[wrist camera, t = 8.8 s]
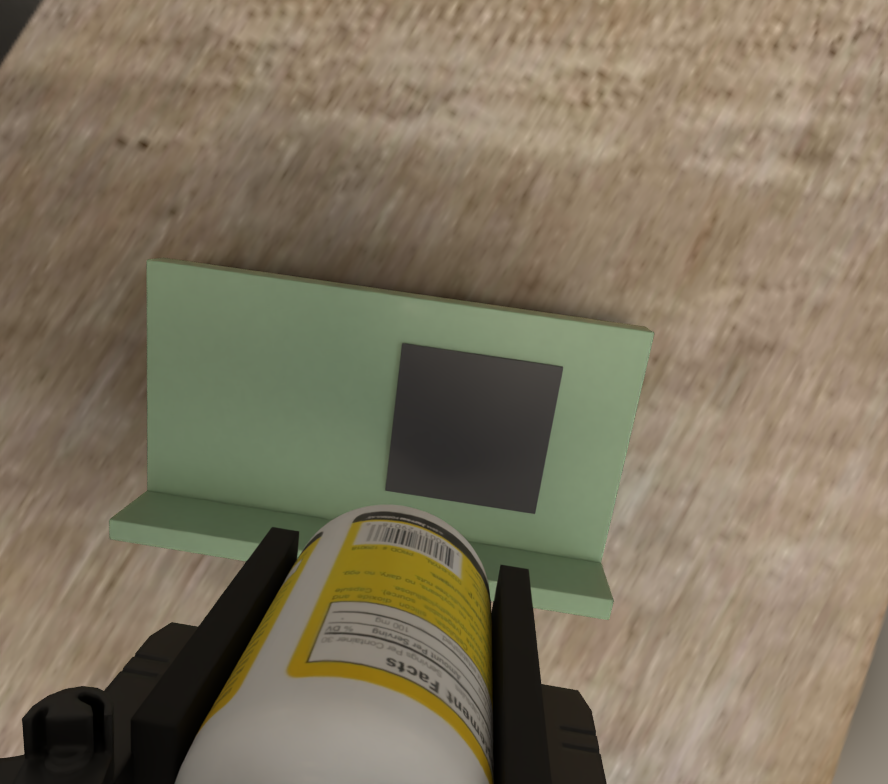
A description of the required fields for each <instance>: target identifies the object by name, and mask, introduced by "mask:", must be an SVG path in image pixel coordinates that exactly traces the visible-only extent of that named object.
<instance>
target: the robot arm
mask: <svg viewBox="0 0 888 784" xmlns="http://www.w3.org/2000/svg"><path fill="white" fill-rule="evenodd" d="M298 544H299V531H294V530H288V529H282V528H276V527H271V529H270V530H269V532H268V533H267V534H266V536H265V537H264V538H263V540H262V541H261V542H260V544H259V545H258V547H257V548H256V549H255V551H254V552H253V553H252V555H251V556H250V557H249V559H248V560H247V561H246V563H245V564H244V566H243V567H242V568H241V570H240V571H239V572H238V574H237V575H236V576H235V578H234V579H233V581H232V582H231V583H230V585H229V586H228V587H227V589H226V590H225V591H224V593H223V594H222V595H221V597H220V598H219V600H218V601H217V602H216V604H215V605H214V606H213V608H212V609H211V610H210V612H209V613H208V615H207V616H206V617H205V619H204V620H203V621H202V623H201V624H200V625H199V627H196V626H190V625H185V624H179V623H173V622H172V623H170V624H168V625H167V626H165V627H164V628H162V629H160V630H159V631H157V632H156V633H154V634H152V635H151V636H150V637H149V638H148V639H147V640H146V641H145V643H144V644H143V645H142V646H141V647H140V649H139V650H138V651H137V652H136V653H135V657H132V658H131V659H130V661H129V662H128V663H127V664H126V665H125V667H124V668H123V671H122V672H120V673H119V674H118V675H117V676H116V677H115V679H114V680H113V681H112V682H111V683H110V685H109V686H108V687H107V688H106V689H105V690H104V691H103V690H101V689H99V688H94V687H85V686H81V687H75V688H68V689H64V690H61V691H59V692H56V693H54V694H51V695H49V696H47V697H45V698H44V699H43V700H41V701H40V702H38V703H37V704H35V705H34V706H32V708H31V709H30V710H29V711H28V712H27V714H26V715H25V716H24V717H23V718H22V723H23V738H24V752H25V755H20V756H15V757H8V758H0V784H175V781H176V778H177V775H178V773H179V770H180V767H181V765H182V763H183V761H184V759H185V757H186V755H187V753H188V751H189V749H190V747H191V745H192V743H193V741H194V739H195V737H196V735H197V733H198V731H199V729H200V727H201V726H202V724H203V722H204V720H205V719H206V717H207V715H208V713H209V712H210V710H211V708H212V707H213V705H214V703H215V701H216V700H217V698H218V696H219V695H220V693H221V691H222V690H223V688H224V686H225V684H226V682H227V681H228V679H229V677H230V676H231V674H232V672H233V670H234V668H235V667H236V665H237V663H238V661H239V660H240V658H241V656H242V655H243V653H244V651H245V649H246V648H247V646H248V644H249V642H250V640H251V638H252V637H253V635H254V633H255V632H256V630H257V628H258V626H259V625H260V623H261V621H262V619H263V618H264V616H265V614H266V612H267V610H268V609H269V607H270V605H271V603H272V602H273V600H274V598H275V596H276V595H277V593H278V591H279V590H280V588H281V586H282V584H283V583H284V581H285V579H286V577H287V575H288V574H289V572H290V570H291V568H292V567H293V565H294V563H295V561H296V560H297V556H298ZM491 616H492V669H493V674H492V676H493V732H494V735H493V739H494V742H493V758H494V784H606V779H605V774H604V769H603V764H602V759H601V754H599V745H598V740H597V736H596V730H595V725H594V721H593V716H592V711H591V709H590V708H589V706H588V705H587V703H586V702H585V700H584V699H583V697H582V696H581V694H580V692H579V691H578V690H573V689H567V688H561V687H555V686H549V685H543V684H541V677H540V668H539V659H538V650H537V640H536V631H535V622H534V613H533V603H532V594H531V585H530V576H529V569H525V568H519V567H513V566H507V565H501V564H500V570H499V575H498V580H497V586H496V591H495V597H494V602H493V607H492V613H491Z"/></svg>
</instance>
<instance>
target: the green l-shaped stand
mask: <svg viewBox="0 0 888 784" xmlns="http://www.w3.org/2000/svg"><path fill="white" fill-rule="evenodd" d="M653 337H654V332H652V331H651V330H649V329H648V328H646V327H644V326H637V325H630V324H623V323H616V322H609V321H602V320H595V319H588V318H581V317H574V316H567V315H560V314H553V313H546V312H539V311H532V310H525V309H518V308H511V307H504V306H497V305H490V304H483V303H476V302H469V301H462V300H456V299H449V298H442V297H435V296H428V295H421V294H414V293H407V292H400V291H393V290H386V289H379V288H372V287H365V286H358V285H351V284H344V283H337V282H330V281H323V280H316V279H309V278H302V277H295V276H288V275H281V274H274V273H267V272H260V271H253V270H246V269H239V268H232V267H225V266H218V265H211V264H204V263H197V262H190V261H183V260H176V259H169V258H158V259H148V260H147V491H146V492H145V493H143V494H142V495H141V496H139V497H138V498H137V499H136V500H134V501H133V502H132V503H130V504H129V505H128V506H126V507H125V508H124V509H122V510H121V511H120V512H118V513H117V514H116V515H115V516H113V517H112V518H111V519H110V520H109V537H110V539H112V540H118V541H124V542H130V543H136V544H142V545H149V546H155V547H161V548H167V549H173V550H179V551H186V552H192V553H198V554H204V555H210V556H217V557H223V558H229V559H235V560H241V561H247V560H248V559H249V557H250V556H251V555H252V553H253V552H254V551H255V549H256V548H257V547H258V545H259V544H260V542H261V541H262V540H263V538H264V537H265V536H266V534H267V533H268V532H269V530H270V529H271V527H276V528H282V529H288V530H294V531H299V544H298V556H297V558H298V557H299V555H300V554H301V552H302V551H303V549H304V548H305V546H306V544H307V543H308V542H309V541H310V539H311V538H312V537H313V536H314V535H315V534H316V533H317V532H318V531H319V530H320V529H321V528H322V527H323V526H325V525H326V524H327V523H328V522H330V521H331V520H333V519H335V518H337V517H338V516H340V515H342V514H344V513H347V512H349V511H352V510H355V509H358V508H362V507H367V506H374V505H400V506H406V507H411V508H414V509H418V510H421V511H424V512H427V513H429V514H431V515H434V516H436V517H438V518H440V519H441V520H443V521H444V522H446V523H447V524H449V525H450V526H452V527H453V528H454V529H456V530H457V531H458V532H459V533H460V534H461V535H462V536H463V537H464V538H465V539H466V540H467V541H468V542H469V544H470V545H471V546H472V548H473V549H474V551H475V552H476V554H477V555H478V557H479V559H480V561H481V563H482V565H483V567H484V570H485V573H486V576H487V579H488V583H489V590H490V598H491V601H494V597H495V591H496V586H497V580H498V575H499V570H500V564H501V565H507V566H513V567H519V568H525V569H529V576H530V585H531V594H532V603H533V608H537V609H544V610H550V611H556V612H562V613H568V614H574V615H581V616H587V617H593V618H599V619H605V620H609V618H610V614H611V610H612V606H613V602H614V600H613V597H612V594H611V591H610V588H609V585H608V582H607V579H606V576H605V573H604V570H603V567H602V564H601V561H602V556H603V552H604V548H605V544H606V539H607V535H608V531H609V526H610V522H611V518H612V513H613V509H614V505H615V501H616V496H617V492H618V488H619V483H620V479H621V475H622V470H623V466H624V462H625V458H626V453H627V449H628V445H629V440H630V436H631V432H632V428H633V423H634V419H635V415H636V410H637V406H638V402H639V397H640V393H641V389H642V385H643V380H644V376H645V372H646V367H647V363H648V359H649V354H650V350H651V346H652V342H653Z"/></svg>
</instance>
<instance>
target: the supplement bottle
mask: <svg viewBox="0 0 888 784" xmlns="http://www.w3.org/2000/svg"><path fill="white" fill-rule="evenodd" d="M492 674H493V669H492V616H491V598H490V590H489V583H488V579H487V576H486V573H485V570H484V567H483V565H482V563H481V561H480V559H479V557H478V555H477V554H476V552H475V551H474V549H473V548H472V546H471V545H470V544H469V542H468V541H467V540H466V539H465V538H464V537H463V536H462V535H461V534H460V533H459V532H458V531H457V530H456V529H454V528H453V527H452V526H450V525H449V524H447V523H446V522H444V521H443V520H441V519H440V518H438V517H436V516H434V515H431V514H429V513H427V512H424V511H421V510H418V509H414V508H411V507H406V506H400V505H374V506H367V507H362V508H358V509H355V510H352V511H349V512H347V513H344V514H342V515H340V516H338V517H337V518H335V519H333V520H331V521H330V522H328V523H327V524H326V525H325V526H323V527H322V528H321V529H320V530H319V531H318V532H317V533H316V534H315V535H314V536H313V537H312V538H311V539H310V541H309V542H308V543H307V544H306V546H305V548H304V549H303V551H302V552H301V554H300V555H299V557H298V558H297V560H296V561H295V563H294V565H293V567H292V568H291V570H290V572H289V574H288V575H287V577H286V579H285V581H284V583H283V584H282V586H281V588H280V590H279V591H278V593H277V595H276V596H275V598H274V600H273V602H272V603H271V605H270V607H269V609H268V610H267V612H266V614H265V616H264V618H263V619H262V621H261V623H260V625H259V626H258V628H257V630H256V632H255V633H254V635H253V637H252V638H251V640H250V642H249V644H248V646H247V648H246V649H245V651H244V653H243V655H242V656H241V658H240V660H239V661H238V663H237V665H236V667H235V668H234V670H233V672H232V674H231V676H230V677H229V679H228V681H227V682H226V684H225V686H224V688H223V690H222V691H221V693H220V695H219V696H218V698H217V700H216V701H215V703H214V705H213V707H212V708H211V710H210V712H209V713H208V715H207V717H206V719H205V720H204V722H203V724H202V726H201V727H200V729H199V731H198V733H197V735H196V737H195V739H194V741H193V743H192V745H191V747H190V749H189V751H188V753H187V755H186V757H185V759H184V761H183V763H182V765H181V767H180V770H179V773H178V775H177V778H176V781H175V784H494V758H493V742H494V739H493V735H494V732H493V676H492Z"/></svg>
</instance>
